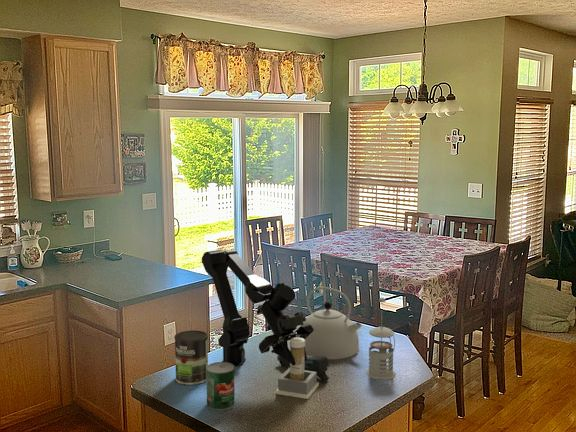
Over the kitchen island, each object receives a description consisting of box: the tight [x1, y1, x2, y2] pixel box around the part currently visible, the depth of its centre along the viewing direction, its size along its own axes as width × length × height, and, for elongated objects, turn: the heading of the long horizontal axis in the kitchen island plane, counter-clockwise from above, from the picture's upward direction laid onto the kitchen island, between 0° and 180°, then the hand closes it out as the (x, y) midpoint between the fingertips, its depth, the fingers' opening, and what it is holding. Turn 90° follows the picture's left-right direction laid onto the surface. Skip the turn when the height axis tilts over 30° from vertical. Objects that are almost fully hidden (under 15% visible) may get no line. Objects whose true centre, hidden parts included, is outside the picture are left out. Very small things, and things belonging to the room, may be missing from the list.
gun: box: [276, 355, 330, 383], centre depth 187 cm, size 4×20×10 cm, turn 43°
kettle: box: [300, 286, 363, 360], centre depth 208 cm, size 25×23×22 cm
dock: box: [275, 368, 320, 400], centre depth 174 cm, size 10×10×4 cm
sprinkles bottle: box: [289, 337, 305, 381], centre depth 173 cm, size 5×5×14 cm
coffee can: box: [174, 329, 209, 386], centre depth 182 cm, size 10×10×14 cm
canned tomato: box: [206, 361, 236, 411], centre depth 164 cm, size 8×8×11 cm
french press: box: [365, 297, 397, 381], centre depth 186 cm, size 10×12×25 cm
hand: (300, 362), depth 172 cm, fingers closed on sprinkles bottle, 4 cm apart
